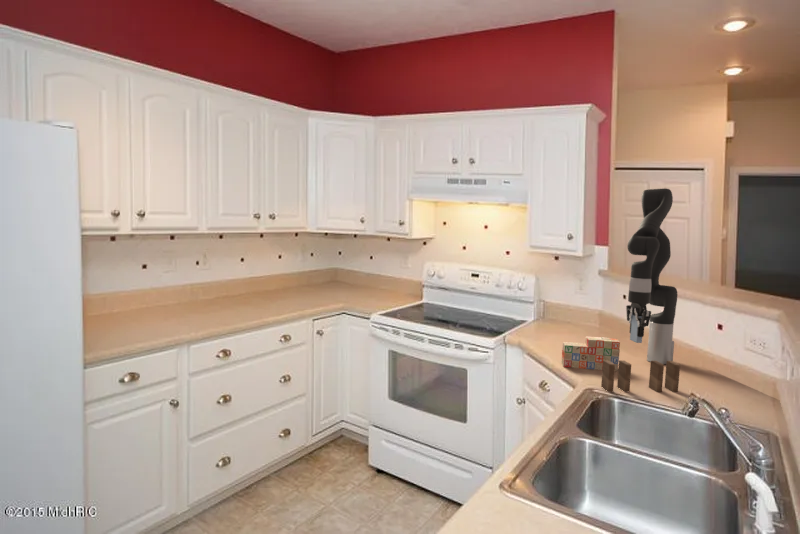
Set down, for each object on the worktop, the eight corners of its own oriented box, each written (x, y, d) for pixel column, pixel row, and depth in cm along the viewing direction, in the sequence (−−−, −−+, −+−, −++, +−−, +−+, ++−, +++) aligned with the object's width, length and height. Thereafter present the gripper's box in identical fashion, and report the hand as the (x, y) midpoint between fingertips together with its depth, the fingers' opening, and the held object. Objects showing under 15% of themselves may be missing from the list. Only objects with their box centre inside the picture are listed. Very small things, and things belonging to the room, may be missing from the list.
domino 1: (622, 387, 193) (624, 360, 192) (629, 391, 188) (631, 364, 187) (617, 387, 193) (619, 360, 192) (623, 391, 188) (626, 364, 187)
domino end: (606, 387, 192) (608, 360, 191) (613, 391, 187) (615, 364, 186) (601, 387, 192) (603, 360, 191) (607, 391, 187) (609, 364, 186)
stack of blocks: (563, 367, 217) (565, 337, 216) (561, 363, 223) (563, 334, 222) (618, 371, 213) (620, 341, 212) (614, 367, 219) (616, 338, 218)
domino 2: (634, 339, 201) (636, 313, 200) (641, 342, 196) (643, 316, 195) (629, 339, 201) (631, 313, 200) (636, 342, 196) (638, 316, 195)
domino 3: (654, 387, 194) (656, 360, 193) (661, 392, 189) (663, 364, 188) (648, 387, 194) (650, 360, 193) (656, 392, 189) (658, 364, 188)
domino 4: (669, 387, 194) (671, 360, 193) (677, 392, 189) (680, 364, 188) (664, 387, 194) (666, 360, 193) (672, 392, 189) (674, 364, 188)
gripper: (660, 293, 190) (656, 339, 192) (639, 287, 204) (636, 331, 206) (640, 292, 190) (636, 339, 191) (620, 287, 204) (617, 330, 205)
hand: (636, 334), depth 199 cm, fingers closed on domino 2, 5 cm apart
